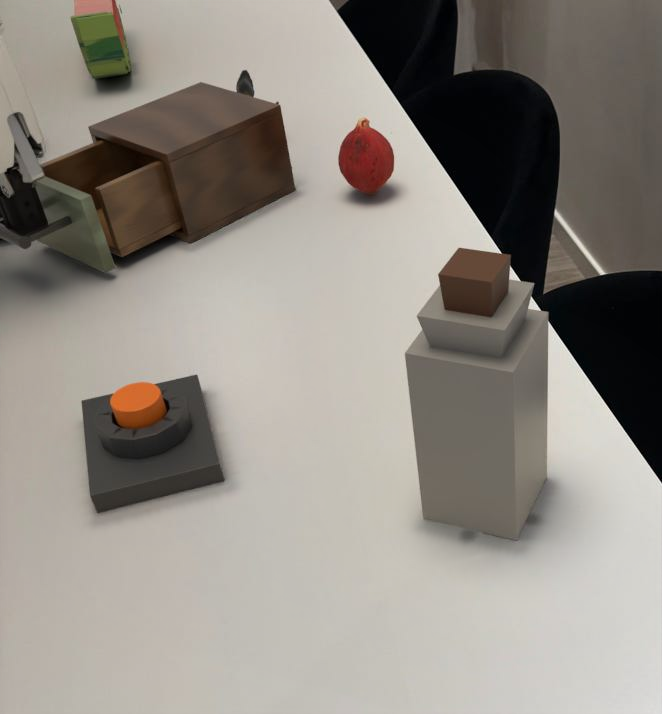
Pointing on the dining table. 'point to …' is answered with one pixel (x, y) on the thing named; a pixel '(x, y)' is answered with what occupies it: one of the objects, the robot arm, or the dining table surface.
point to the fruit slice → (101, 37)
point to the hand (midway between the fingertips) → (29, 229)
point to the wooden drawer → (101, 204)
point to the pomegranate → (366, 158)
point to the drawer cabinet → (209, 152)
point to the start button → (138, 405)
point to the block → (150, 449)
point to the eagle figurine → (246, 84)
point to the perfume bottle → (480, 397)
